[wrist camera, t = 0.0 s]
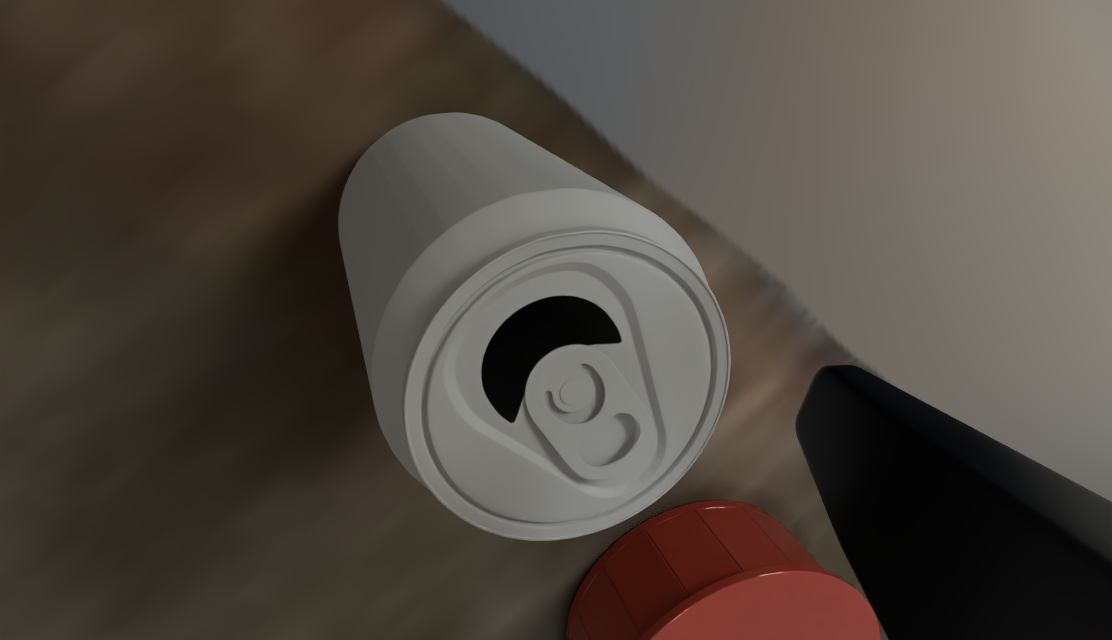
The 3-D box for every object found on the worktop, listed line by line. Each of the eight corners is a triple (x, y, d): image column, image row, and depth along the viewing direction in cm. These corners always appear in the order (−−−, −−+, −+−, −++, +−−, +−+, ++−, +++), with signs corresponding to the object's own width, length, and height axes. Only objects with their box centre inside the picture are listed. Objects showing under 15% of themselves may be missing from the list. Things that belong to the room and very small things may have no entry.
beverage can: (472, 62, 22) (643, 118, 11) (587, 237, 25) (808, 412, 14) (288, 197, 22) (284, 382, 11) (425, 358, 25) (527, 625, 14)
